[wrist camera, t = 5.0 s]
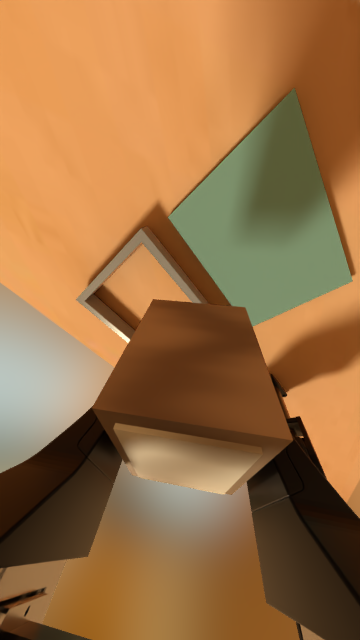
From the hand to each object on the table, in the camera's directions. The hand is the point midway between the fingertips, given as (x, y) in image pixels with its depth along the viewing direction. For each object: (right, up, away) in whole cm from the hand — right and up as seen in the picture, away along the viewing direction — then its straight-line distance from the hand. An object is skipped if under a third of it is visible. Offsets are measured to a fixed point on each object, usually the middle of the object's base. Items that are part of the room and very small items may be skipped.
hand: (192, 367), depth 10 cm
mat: (+7, +10, +6) cm, 14 cm away
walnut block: (0, +1, +1) cm, 2 cm away
